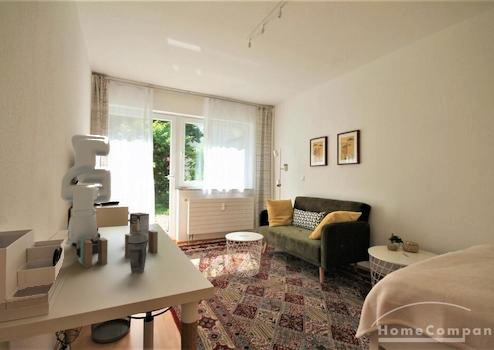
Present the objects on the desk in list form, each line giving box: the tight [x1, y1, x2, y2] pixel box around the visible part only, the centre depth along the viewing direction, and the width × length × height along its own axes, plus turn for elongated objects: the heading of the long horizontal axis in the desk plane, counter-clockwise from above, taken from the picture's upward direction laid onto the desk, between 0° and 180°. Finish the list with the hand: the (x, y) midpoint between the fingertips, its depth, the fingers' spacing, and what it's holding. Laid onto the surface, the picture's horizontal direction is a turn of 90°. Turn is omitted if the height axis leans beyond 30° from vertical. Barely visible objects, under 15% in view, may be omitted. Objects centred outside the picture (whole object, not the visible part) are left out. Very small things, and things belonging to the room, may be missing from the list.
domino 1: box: [82, 240, 93, 269], centre depth 98 cm, size 6×2×10 cm, turn 46°
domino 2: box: [97, 237, 109, 266], centre depth 102 cm, size 6×2×10 cm, turn 46°
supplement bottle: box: [90, 226, 101, 255], centre depth 115 cm, size 7×7×12 cm
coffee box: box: [129, 212, 150, 237], centre depth 135 cm, size 9×6×16 cm
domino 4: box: [147, 229, 159, 254], centre depth 117 cm, size 6×2×10 cm, turn 46°
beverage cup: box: [128, 219, 148, 275], centre depth 92 cm, size 7×7×20 cm
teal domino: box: [77, 239, 87, 265], centre depth 103 cm, size 6×2×10 cm, turn 45°
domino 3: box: [124, 232, 131, 260], centre depth 110 cm, size 6×2×10 cm, turn 46°
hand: (82, 256), depth 103 cm, fingers closed on teal domino, 1 cm apart
